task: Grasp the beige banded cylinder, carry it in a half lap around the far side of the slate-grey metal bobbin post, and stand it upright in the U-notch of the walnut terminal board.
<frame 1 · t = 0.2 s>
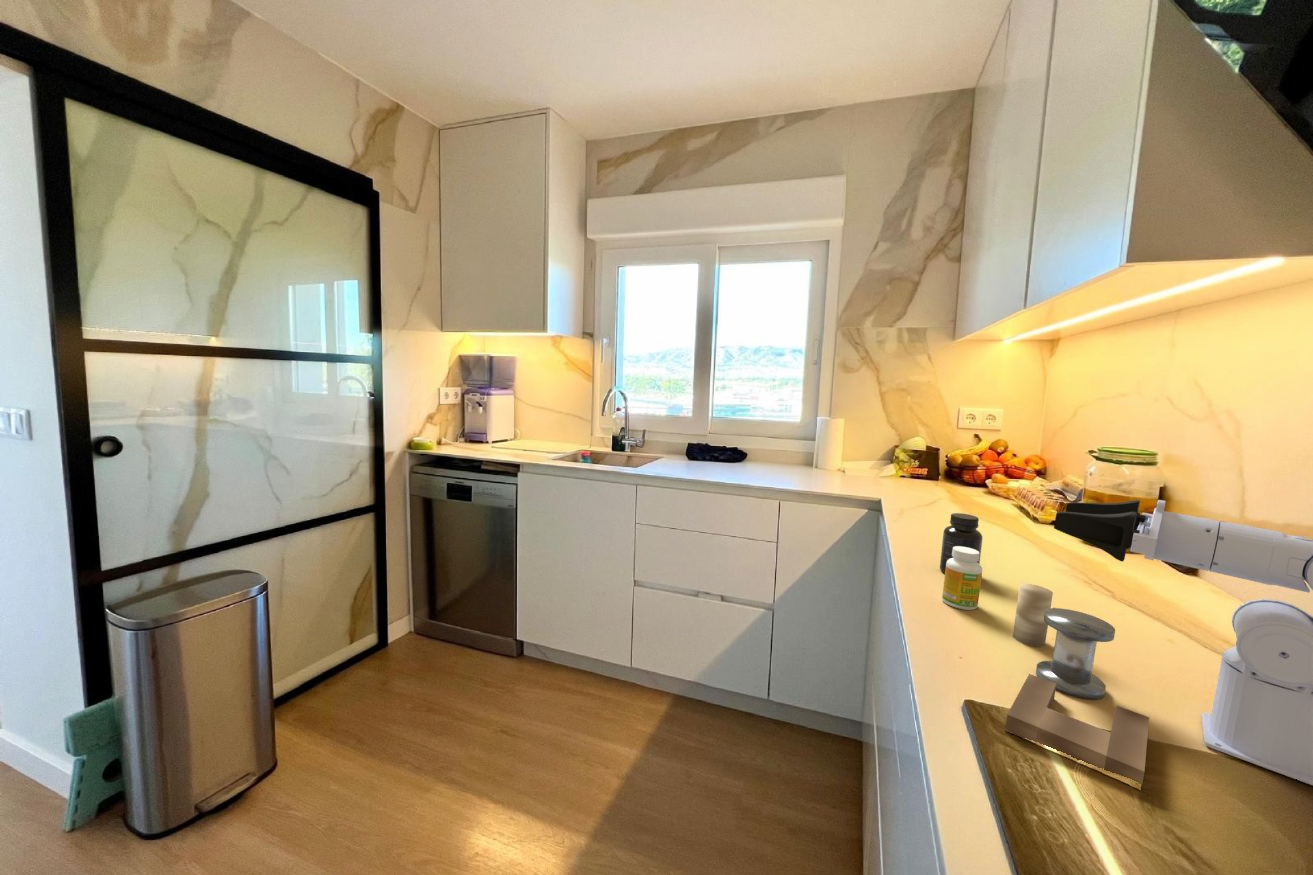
hand: (1060, 514, 67), 21 cm above the countertop, tool horizontal, fingers open, 7 cm apart
bobbin post: (1069, 682, 67), on the countertop
supplement bottle 2: (959, 604, 90), on the countertop
beige banded cylinder: (1028, 639, 79), on the countertop
supplement bottle: (957, 574, 105), on the countertop
notched board: (1076, 732, 57), on the countertop
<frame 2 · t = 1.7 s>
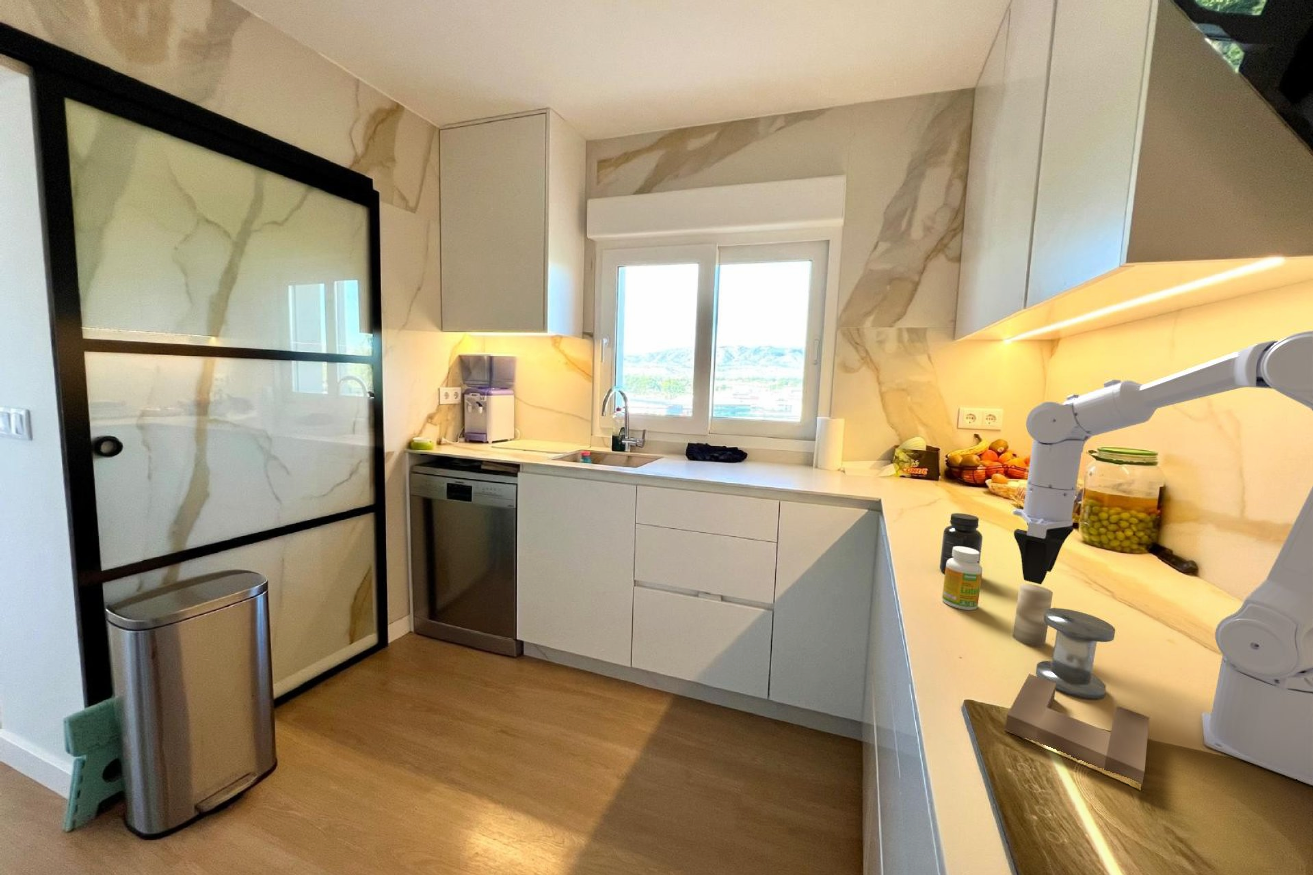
hand: (1037, 575, 77), 10 cm above the countertop, tool pointing down, fingers open, 7 cm apart
nothing on the countertop moved.
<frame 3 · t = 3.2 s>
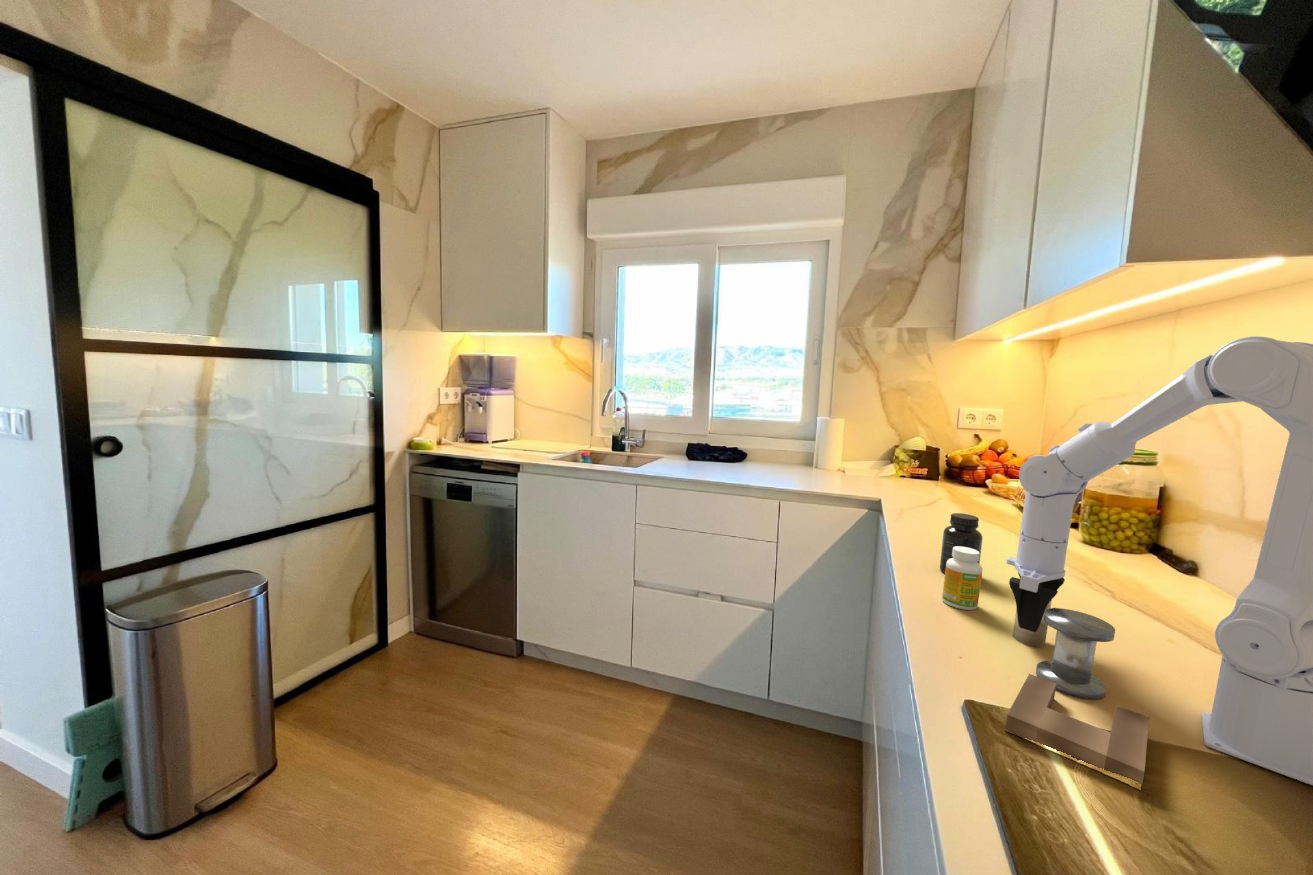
hand: (1030, 624, 78), 2 cm above the countertop, tool pointing down, fingers closed on beige banded cylinder, 4 cm apart
beige banded cylinder: (1028, 639, 79), on the countertop, touching gripper
everything else where it was.
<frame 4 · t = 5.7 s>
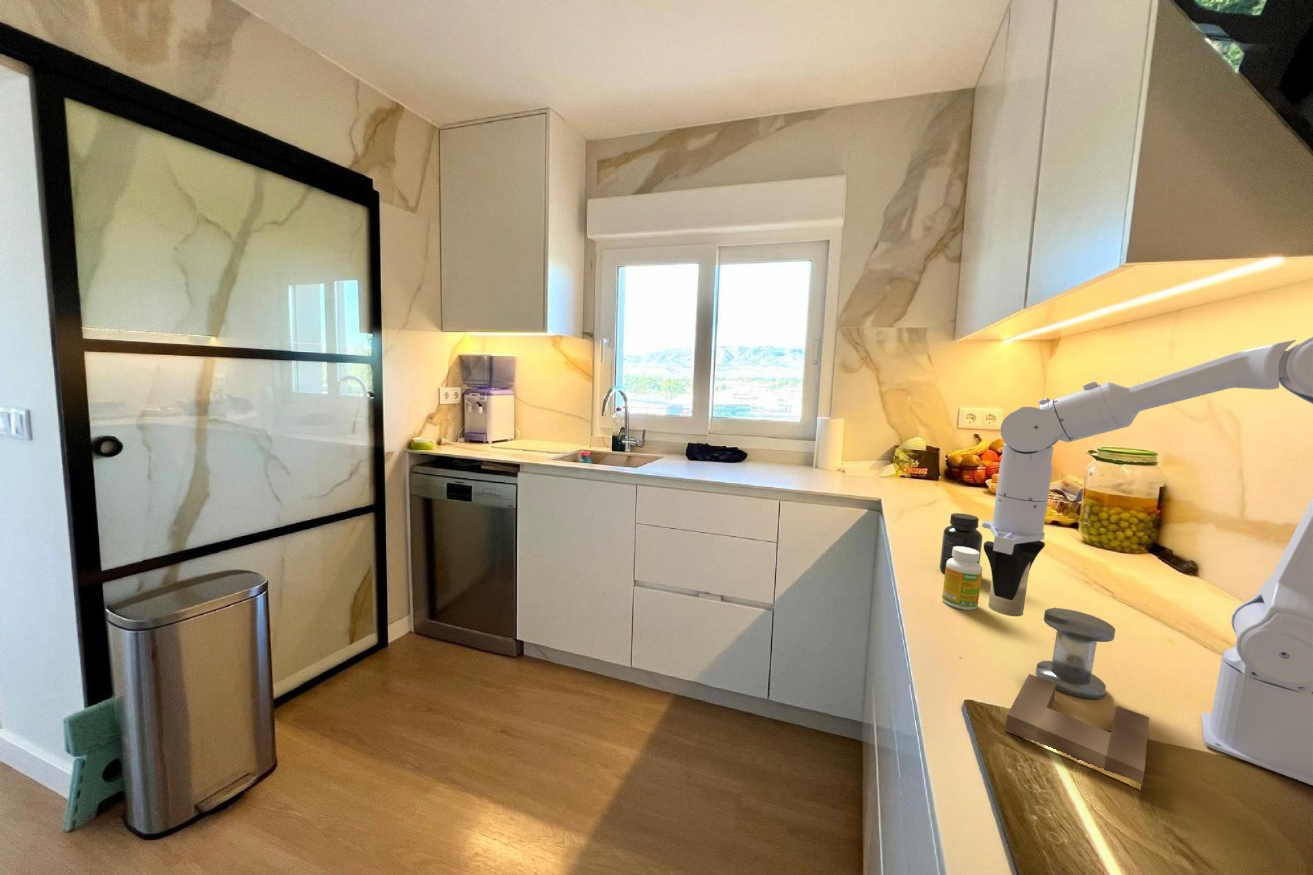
hand: (1007, 593, 72), 9 cm above the countertop, tool pointing down, fingers closed on beige banded cylinder, 4 cm apart
beige banded cylinder: (1005, 609, 72), point 7 cm above the countertop, touching gripper
everything else where it was.
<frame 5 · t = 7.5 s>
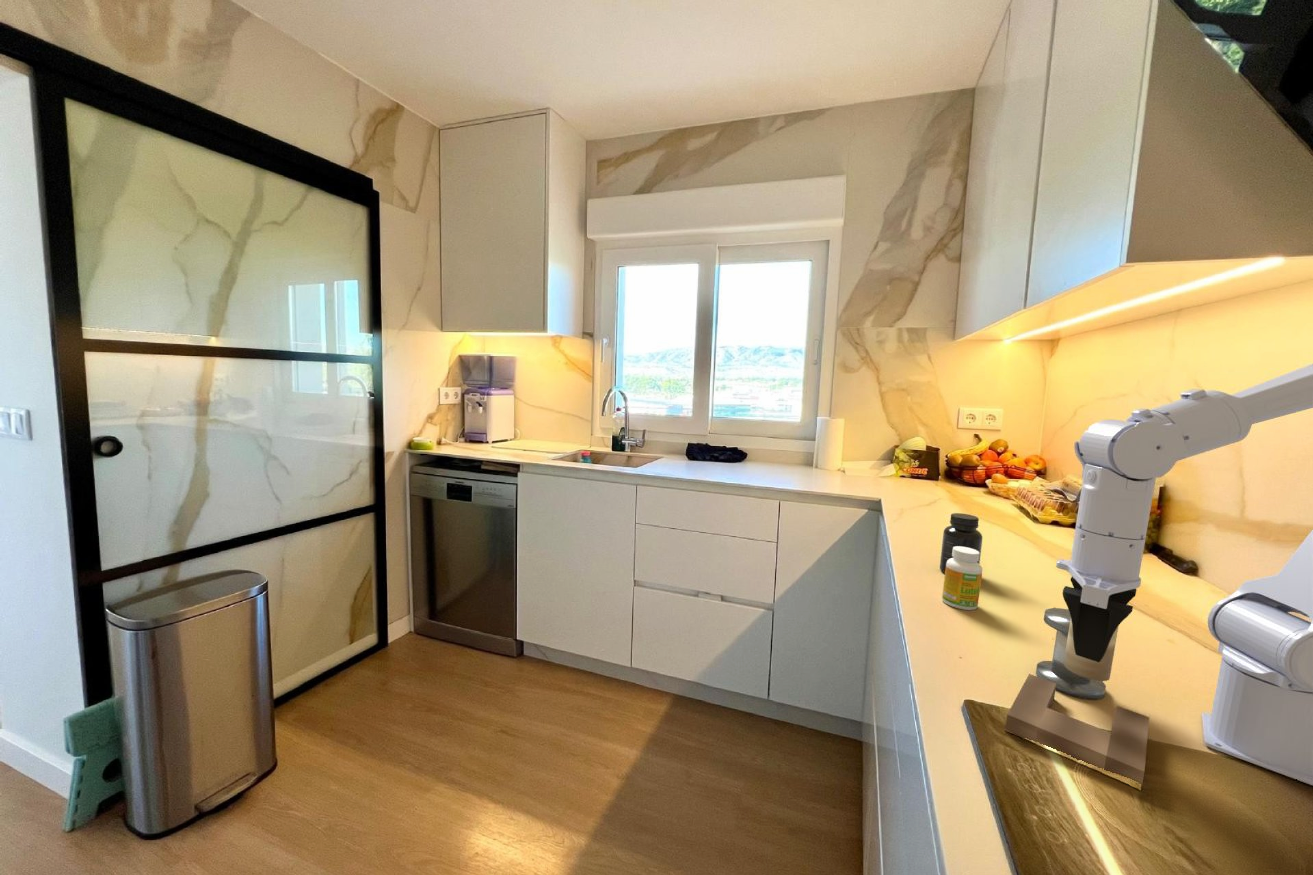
hand: (1090, 650, 58), 9 cm above the countertop, tool pointing down, fingers closed on beige banded cylinder, 4 cm apart
beige banded cylinder: (1086, 670, 58), point 6 cm above the countertop, touching gripper
everything else where it was.
when the fingers open (4 cm above the countertop, at t = 8.7 s): beige banded cylinder drops 2 cm, resting in notched board.
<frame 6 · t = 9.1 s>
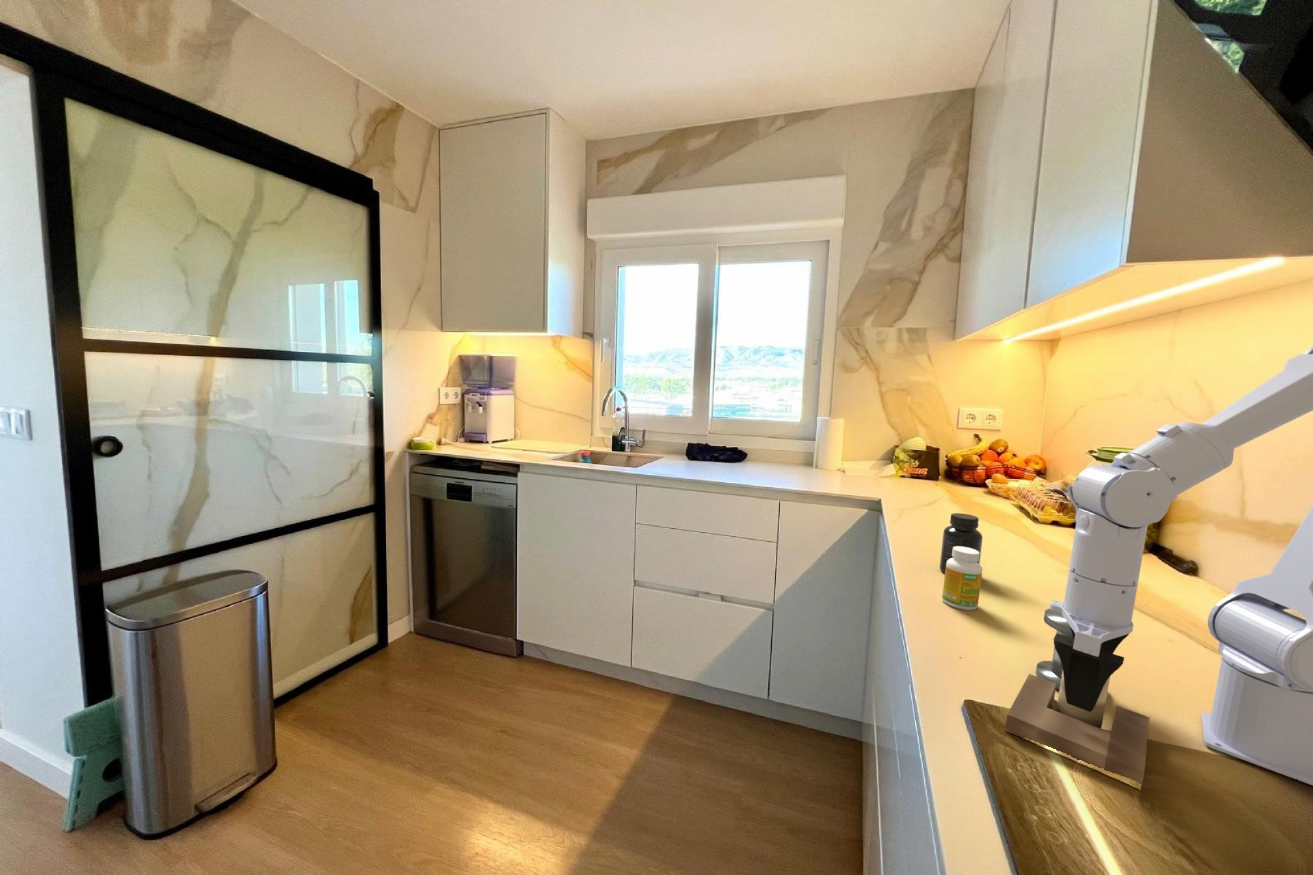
hand: (1083, 692, 58), 4 cm above the countertop, tool pointing down, fingers open, 7 cm apart
beige banded cylinder: (1077, 724, 59), resting in notched board
everything else where it was.
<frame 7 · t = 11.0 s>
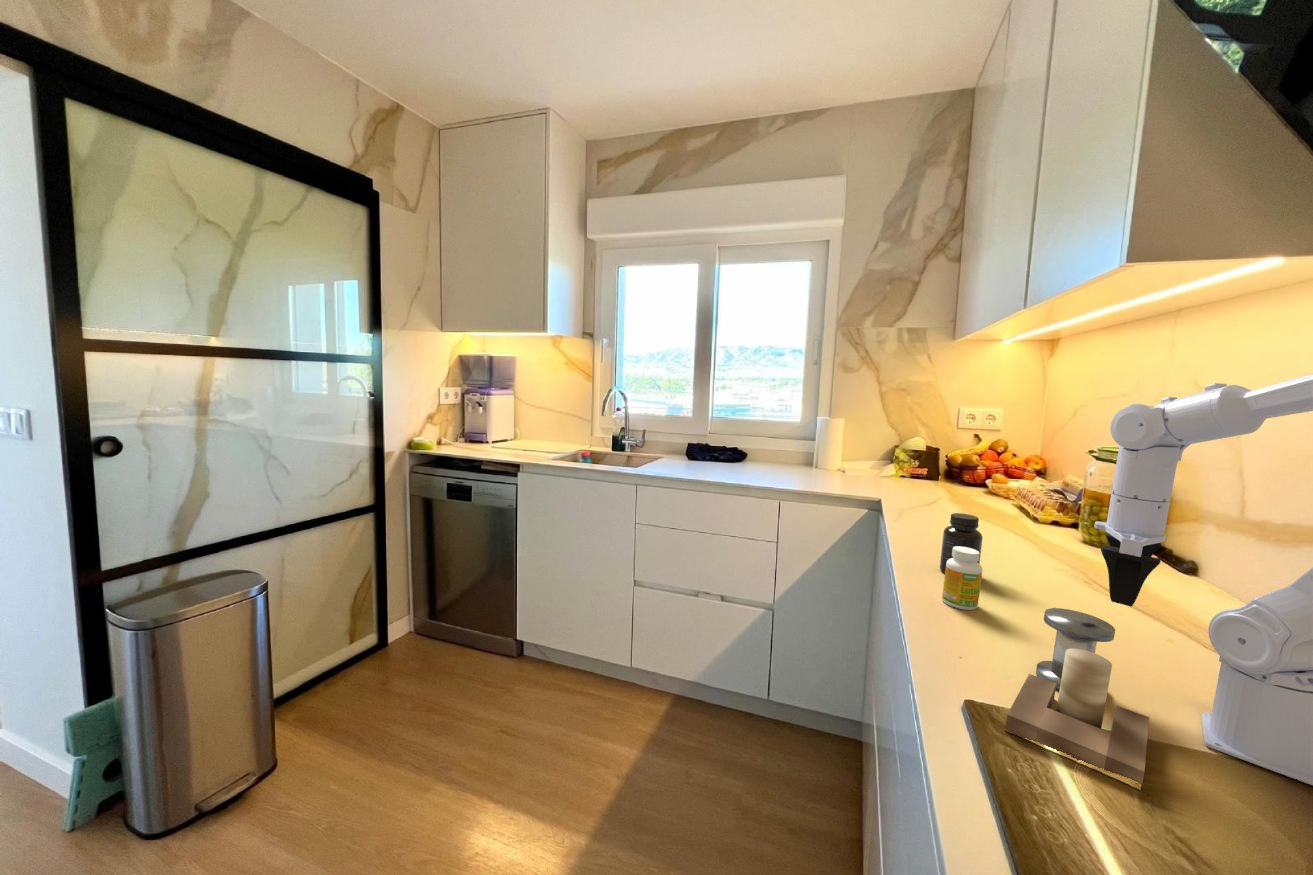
hand: (1122, 595, 70), 10 cm above the countertop, tool pointing down, fingers open, 7 cm apart
nothing on the countertop moved.
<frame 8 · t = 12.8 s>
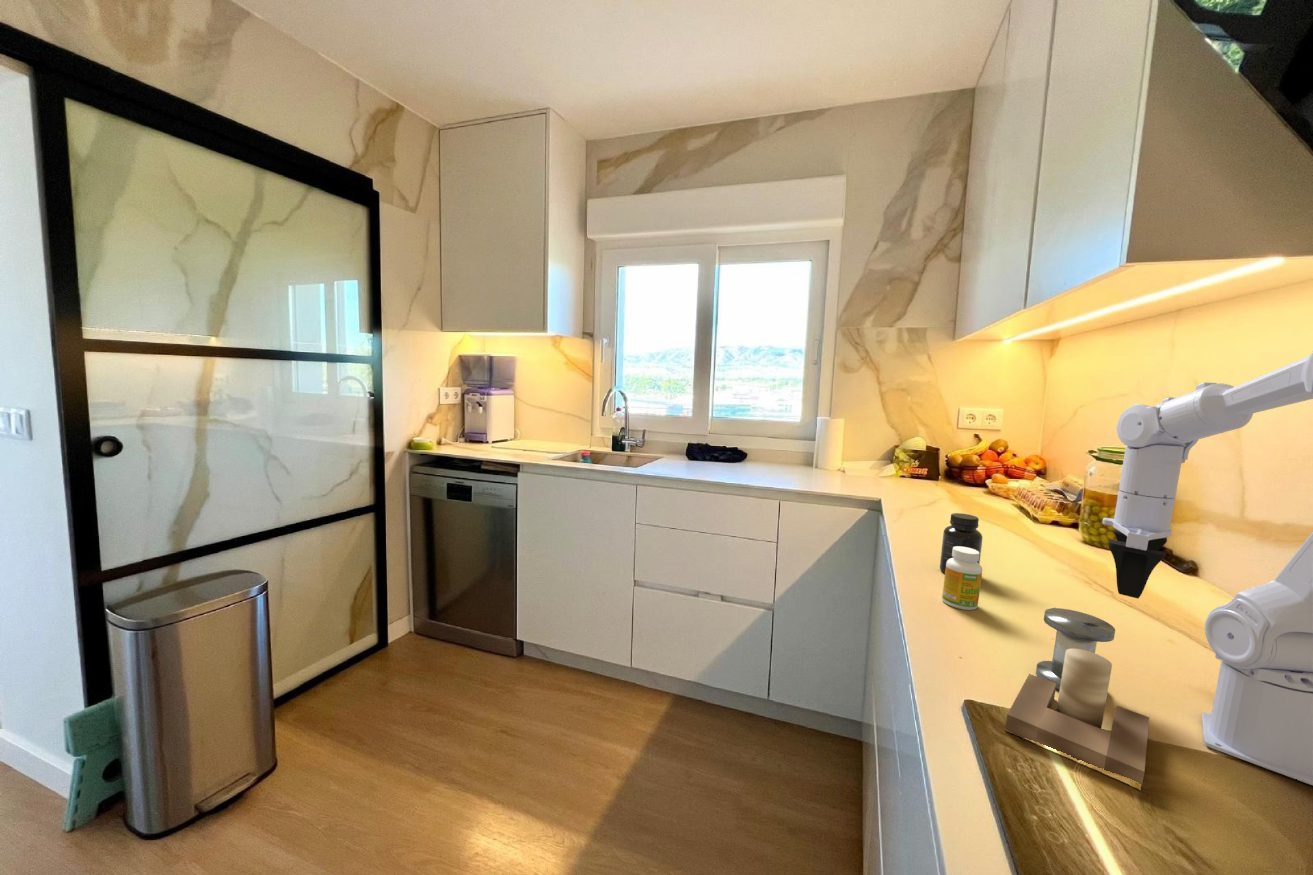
hand: (1130, 588, 73), 10 cm above the countertop, tool pointing down, fingers open, 7 cm apart
nothing on the countertop moved.
at the end: beige banded cylinder 0.1 cm from the target spot on the notched board, point 0.0 cm above the notched board's base; beige banded cylinder tilted 0°; the gripper is holding nothing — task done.
